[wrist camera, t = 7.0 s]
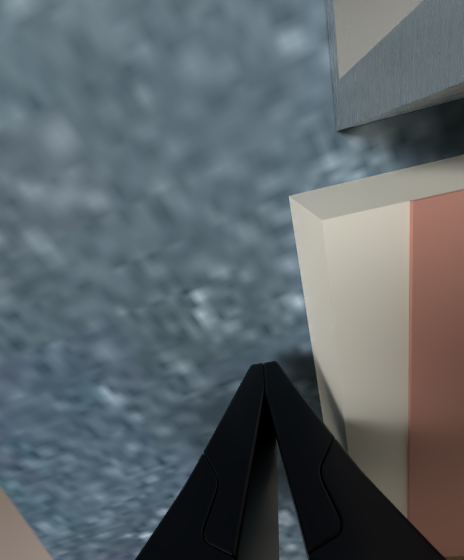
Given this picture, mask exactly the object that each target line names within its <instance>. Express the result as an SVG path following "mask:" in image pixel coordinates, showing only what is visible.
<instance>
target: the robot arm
mask: <svg viewBox="0 0 464 560" xmlns="http://www.w3.org/2000/svg"><path fill="white" fill-rule="evenodd" d="M276 438H277V442H278V446H279V450H280V454H281V458H282V461H283V465H284V469H285V473H286V477H287V481H288V485H289V488H290V492H291V496H292V500H293V504H294V508H295V512H296V515H297V519H298V523H299V527H300V531H301V535H302V539H303V543H304V546H305V550H306V554H307V558H308V560H447V559H446V558H445V557H444V556H443V555H442V554H441V553H440V552H439V551H438V550H437V549H436V548H435V547H434V546H433V545H432V544H431V543H430V542H429V541H428V540H427V539H426V538H425V537H424V536H423V535H422V534H421V533H420V531H419V530H418V529H417V528H416V527H415V526H414V525H413V524H412V523H411V522H410V521H409V520H408V519H407V518H406V517H405V516H404V515H403V514H402V513H401V512H400V511H399V510H398V509H397V508H396V507H395V506H394V504H393V503H392V502H391V501H390V500H389V499H388V498H387V497H386V496H385V495H384V494H383V493H382V492H381V491H380V490H379V489H378V488H377V487H376V486H375V484H374V483H373V482H372V481H371V480H370V479H369V478H368V477H367V476H366V475H365V474H364V472H363V471H362V470H361V469H360V468H359V467H358V465H357V464H356V463H355V462H354V461H353V459H352V458H351V457H350V456H349V455H348V453H347V452H346V451H345V450H344V448H343V447H342V446H341V444H340V443H339V442H338V440H336V439H335V437H334V436H333V434H332V433H331V432H330V430H329V429H328V428H327V426H326V425H325V424H324V423H323V421H322V420H321V419H320V417H319V416H318V415H317V413H316V412H315V411H314V410H313V408H312V407H311V406H310V404H309V403H308V402H307V400H306V399H305V398H304V397H303V395H302V394H301V393H300V391H299V390H298V389H297V387H296V386H295V385H294V384H293V382H292V381H291V380H290V378H289V377H288V376H287V374H286V373H285V372H284V371H283V369H282V368H281V367H280V365H279V364H278V363H277V362H276V361H272V362H266V363H264V364H263V363H260V364H253V365H251V366H250V368H249V370H248V371H247V373H246V375H245V377H244V379H243V381H242V383H241V384H240V386H239V388H238V390H237V392H236V394H235V395H234V397H233V399H232V401H231V403H230V405H229V406H228V408H227V410H226V412H225V414H224V416H223V417H222V419H221V421H220V423H219V425H218V427H217V428H216V430H215V432H214V434H213V436H212V438H211V439H210V441H209V443H208V445H207V447H206V449H205V450H204V454H202V456H201V457H200V459H199V461H198V463H197V465H196V467H195V468H194V470H193V472H192V474H191V475H190V477H189V479H188V480H187V482H186V484H185V486H184V487H183V489H182V490H181V492H180V493H179V495H178V496H177V498H176V500H175V501H174V503H173V504H172V506H171V507H170V509H169V510H168V512H167V513H166V515H165V516H164V518H163V519H162V521H161V522H160V524H159V525H158V527H157V528H156V529H155V531H154V532H153V534H152V535H151V537H150V538H149V540H148V541H147V543H146V544H145V546H144V547H143V549H142V550H141V552H140V553H139V555H138V556H137V557H136V559H135V560H279V529H278V486H277V444H276Z"/></svg>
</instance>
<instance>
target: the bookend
mask: <svg viewBox="0 0 464 560" xmlns="http://www.w3.org/2000/svg"><path fill="white" fill-rule="evenodd" d="M326 7H327V20H328V32H329V45H330V57H331V70H332V82H333V94H334V107H335V119H336V131H339V130H343V129H347V128H351V127H354V126H358V125H362V124H366V123H370V122H374V121H377V120H381V119H385V118H389V117H393V116H397V115H400V114H404V113H408V112H412V111H416V110H420V109H424V108H427V107H431V106H435V105H439V104H443V103H447V102H450V101H454V100H458V99H462V98H464V0H326Z"/></svg>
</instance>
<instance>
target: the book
mask: <svg viewBox="0 0 464 560" xmlns="http://www.w3.org/2000/svg"><path fill="white" fill-rule="evenodd" d="M289 201H290V207H291V214H292V220H293V227H294V233H295V240H296V246H297V253H298V259H299V266H300V272H301V279H302V285H303V292H304V298H305V305H306V311H307V318H308V324H309V331H310V337H311V344H312V350H313V357H314V363H315V370H316V376H317V383H318V389H319V396H320V402H321V409H322V415H323V422H324V424H325V425H326V426H327V428H328V429H329V430H330V432H331V433H332V434H333V436H334V437H335V439H336V440H338V442H339V443H340V444H341V446H342V447H343V448H344V450H345V451H346V452H347V453H348V455H349V456H350V457H351V458H352V459H353V461H354V462H355V463H356V464H357V465H358V467H359V468H360V469H361V470H362V471H363V472H364V474H365V475H366V476H367V477H368V478H369V479H370V480H371V481H372V482H373V483H374V484H375V486H376V487H377V488H378V489H379V490H380V491H381V492H382V493H383V494H384V495H385V496H386V497H387V498H388V499H389V500H390V501H391V502H392V503H393V504H394V506H395V507H396V508H397V509H398V510H399V511H400V512H401V513H402V514H403V515H404V516H405V517H406V518H407V519H408V520H409V521H410V522H411V523H412V524H413V525H414V526H415V527H416V528H417V529H418V530H419V531H420V533H421V534H422V535H423V536H424V537H425V538H426V539H427V540H428V541H429V542H430V543H431V544H432V545H433V546H434V547H435V548H436V549H437V550H438V551H439V552H440V553H441V554H442V555H443V556H444V557H453V556H464V155H460V156H455V157H451V158H447V159H443V160H439V161H434V162H430V163H426V164H422V165H417V166H413V167H409V168H405V169H401V170H396V171H392V172H388V173H384V174H379V175H375V176H371V177H367V178H363V179H358V180H354V181H350V182H346V183H341V184H337V185H333V186H329V187H325V188H320V189H316V190H312V191H308V192H304V193H299V194H295V195H291V196H289Z"/></svg>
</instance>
